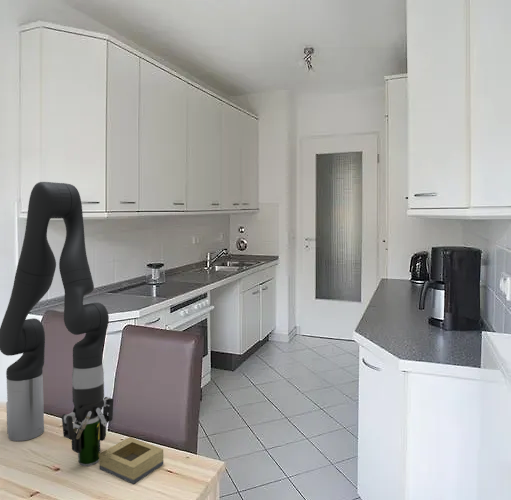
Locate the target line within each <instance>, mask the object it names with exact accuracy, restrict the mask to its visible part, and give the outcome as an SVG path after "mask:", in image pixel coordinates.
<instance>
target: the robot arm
mask: <svg viewBox="0 0 511 500" xmlns="http://www.w3.org/2000/svg"><path fill="white" fill-rule="evenodd" d="M80 195H81V194H80V192H79V190H78V189H77V187H76V186H75V185H73V184H71V183H66V182H50V181H40V182H37V183H36V184H35V185H34V186H33V187H32V190H31V192H30V195H29V199H28V206H27V214H26V225H25V231H24V237H23V241H22V246H21V251H20V254H19V255H20V256H19V259H18V262H17V266H16V271H15V275H14V280H13V286H12V289H11V294H10V298H9V301H8V305H7V307H6V309H5V314H4V316H3V319H2V321H1V324H0V352H1V353H2V354H3V355H5V356H7V357H9V356H10V357H11V356H16V355H17V356H18V355H21V354H22V355H21V356H20V357H19V358H18V359H17V360H15V362H13V363H11V364H10V365H9V366H8V367H7V368H6V372H5V375H6V396H7V397H6V404H5V405H6V430H7V431H6V432H7V437H8V439H9V440H11V441H15V442H22V441H23V442H24V441H28V440H32V439H35V438H37V437H40V436H41V435H42V434H43V433H44V431H45V417H44V416H45V415H44V414H45V410H44V407H45V405H44V381H43V380H44V379H43V375H44V373H43V369H44V365H45V348H46V347H45V346H46V335H45V334H46V332H45V327H44V325H43V323H42V322H41V321H40V320H39V319H37V318H35V317H34V318H28V319H27V317H28V316H29V313H30V312H31V311H32V310H33V309H34V307H35V306H36V305H37V304H38V303H39V302H40V301H41V300H42V299H43V297H44V296H45V295H46V294H47V293H48V291H49V290H50V288H51V286H52V284H53V281H54V276H55V273H56V268H57V262H56V261H57V260H56V257H55V254H54V252H53V250H52V247H51V245H50V243H49V241H48V227H49V224H50V220H51V219H62V220H63V222H64V225H65V232H66V233H65V239H64V243H63V247H62V250H61V253H60V256H59V262H58V265H59V266H58V267H59V273H60V277H61V281H62V285H63V291H64V302H63V303H64V304H63V305H64V306H63V307H64V308H63V322H64V326H65V327H66V329H67V331H68V332H70V334H73V335H74V336H75V335H76V336H77V335H82V334H83V335H84V334H85V335H84V337H83V338H82V339H80V341H78V342H75V344H74V345H73V347H72V373H71V385H72V388H71V389H72V392H71V393H72V403H73V409H72V411H71V412H70V413H68V414H66V413H63V414H62V415H61V422H62V423H61V424H62V433H63V435H62V436H63V438H65V439H68V440H70V441H71V449H72V450H71V451H73V452H74V453H76V454H78V453H80V452H81V438H80V436H81V434H82V431H83V430H84V429H85V427H86V425H87V422H88V419H89V418H91V417H93V416H95V415H96V416H97V415H98V417H99V418H100V442H103V441H105V440H106V436H107V425H108V423H109V422H112V421H113V417H114V416H113V415H114V413H113V412H114V399H113V398H111V397H108V396H105V379H104V378H105V377H104V376H105V375H104V374H105V371H104V365H103V363H104V362H103V346H104V342H105V339H106V334H107V331H108V327H109V326H108V325H109V318H110V317H109V311H108V309H107V307H106V306H105V305H104V304H103V303H101V302H91V303H87V304H86V303H85V304H84V297H85V296H86V295H89V294H91V293H92V292H94V290H95V289H94V288H95V287H94V280H93V275H92V273H91V268H90V265H89V261H88V256H87V255H88V254H87V249H86V241H85V239H86V238H85V237H86V236H85V226H84V217H83V214H84V213H83V204H82V199H81V196H80ZM78 421H79V422H81V423H82V424H81V425H79V424H78Z"/></svg>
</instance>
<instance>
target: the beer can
mask: <svg viewBox="0 0 511 500" xmlns="http://www.w3.org/2000/svg"><path fill="white" fill-rule="evenodd" d="M78 424H79V425H81V424H82V423H81V422H79V421H78ZM80 438H81V452H80V453H77V457H78V458H77V460H78V464H79V465H80V466H82V467H91V466H93V465H96V464H97V463H99V453H101V441H100V418H99V417H98V415H97V416H96V415H95V416H93V417H91V418H89V419H88V422H87V425H86V427H85V429H84V430H83V431H82V434H81V436H80Z"/></svg>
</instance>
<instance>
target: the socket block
mask: <svg viewBox="0 0 511 500" xmlns="http://www.w3.org/2000/svg"><path fill="white" fill-rule="evenodd" d="M98 466H99V470H101V471H103V472H105V473H107V474H109V475H112V476H114V477H117V478H119V479H121V480H122V481H123V480H124V481H125V482H128V483H130V484H132V485H135V484H136V483H137V482H140V481H141V480H143V479H144V478H146V477H147V476H148V475H150V474H152V473H153V472H154V471H156V470H157V469H159V468H161V467H162V466H164V448H161V447H158V446H155V445H153V444H150V443H147V442H144V441H142V440H139V439H137V438H133V437H131V436H130V437H128V438H125V439H123V440H121V441H120V442H117V444H115V445H113V446H111V447H109V448H107V449H105V450H104V451H100V453H99V461H98Z"/></svg>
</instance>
